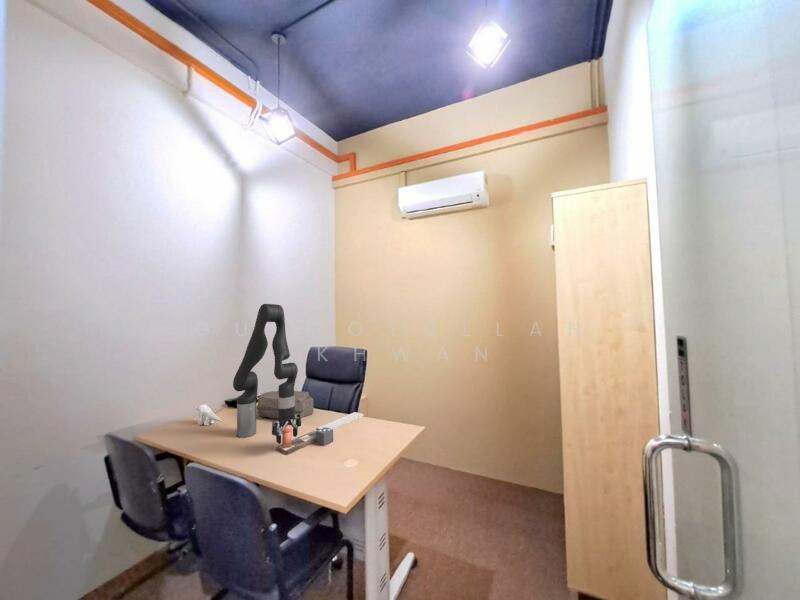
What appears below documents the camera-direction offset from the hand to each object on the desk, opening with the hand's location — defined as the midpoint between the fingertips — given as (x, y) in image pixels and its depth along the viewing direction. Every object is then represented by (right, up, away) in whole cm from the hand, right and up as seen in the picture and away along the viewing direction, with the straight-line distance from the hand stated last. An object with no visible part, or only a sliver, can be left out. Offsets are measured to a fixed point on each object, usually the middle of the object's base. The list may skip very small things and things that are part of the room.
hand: (287, 439), depth 144 cm
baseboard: (+19, -6, +35) cm, 40 cm away
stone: (-20, -7, +50) cm, 55 cm away
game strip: (+5, -5, +7) cm, 10 cm away
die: (+16, -5, +7) cm, 18 cm away
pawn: (0, -3, 0) cm, 3 cm away
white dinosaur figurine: (-60, -7, +35) cm, 70 cm away
